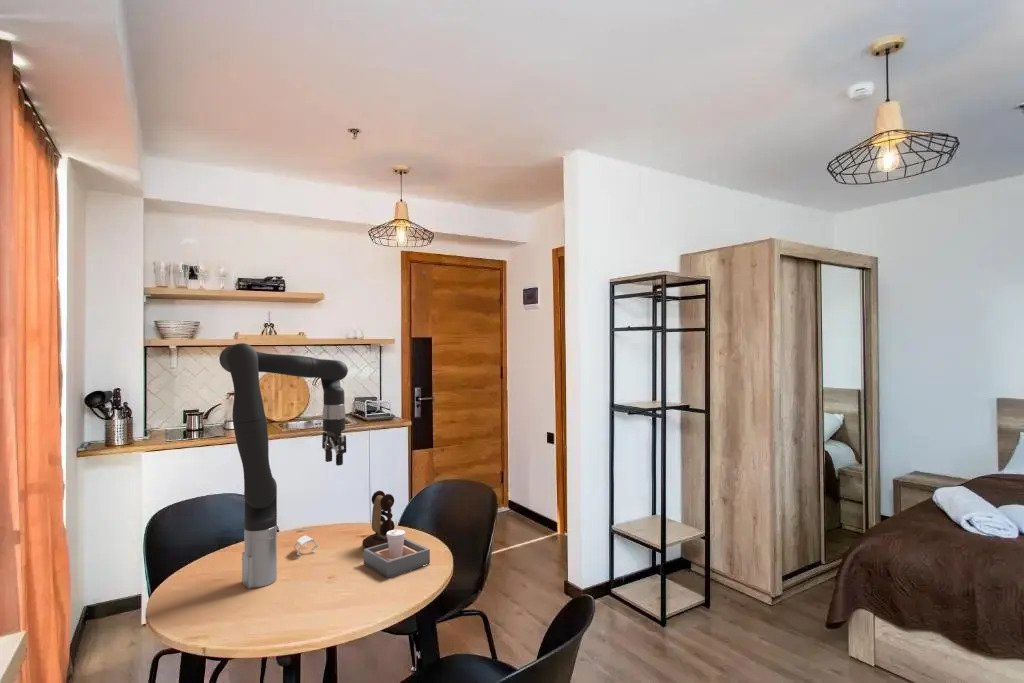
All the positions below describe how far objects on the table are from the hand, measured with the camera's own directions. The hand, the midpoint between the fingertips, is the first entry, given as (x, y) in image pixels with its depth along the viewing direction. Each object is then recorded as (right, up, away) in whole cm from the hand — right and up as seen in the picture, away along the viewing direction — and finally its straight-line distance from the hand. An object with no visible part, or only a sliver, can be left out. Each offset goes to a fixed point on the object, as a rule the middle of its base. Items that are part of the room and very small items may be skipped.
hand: (334, 463), depth 185 cm
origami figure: (-12, -34, +6) cm, 36 cm away
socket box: (+23, -33, -6) cm, 41 cm away
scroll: (+15, -34, +10) cm, 38 cm away
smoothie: (+23, -32, -6) cm, 40 cm away
